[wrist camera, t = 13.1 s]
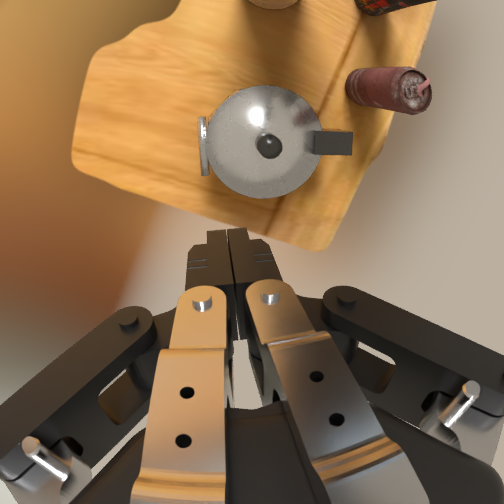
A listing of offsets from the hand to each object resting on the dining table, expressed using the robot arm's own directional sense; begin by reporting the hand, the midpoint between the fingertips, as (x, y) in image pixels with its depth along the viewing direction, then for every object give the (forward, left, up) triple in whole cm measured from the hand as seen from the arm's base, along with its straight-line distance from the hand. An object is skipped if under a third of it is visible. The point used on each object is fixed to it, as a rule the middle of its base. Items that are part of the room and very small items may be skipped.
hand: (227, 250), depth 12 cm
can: (-8, +23, -33) cm, 41 cm away
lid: (0, +8, -25) cm, 26 cm away
